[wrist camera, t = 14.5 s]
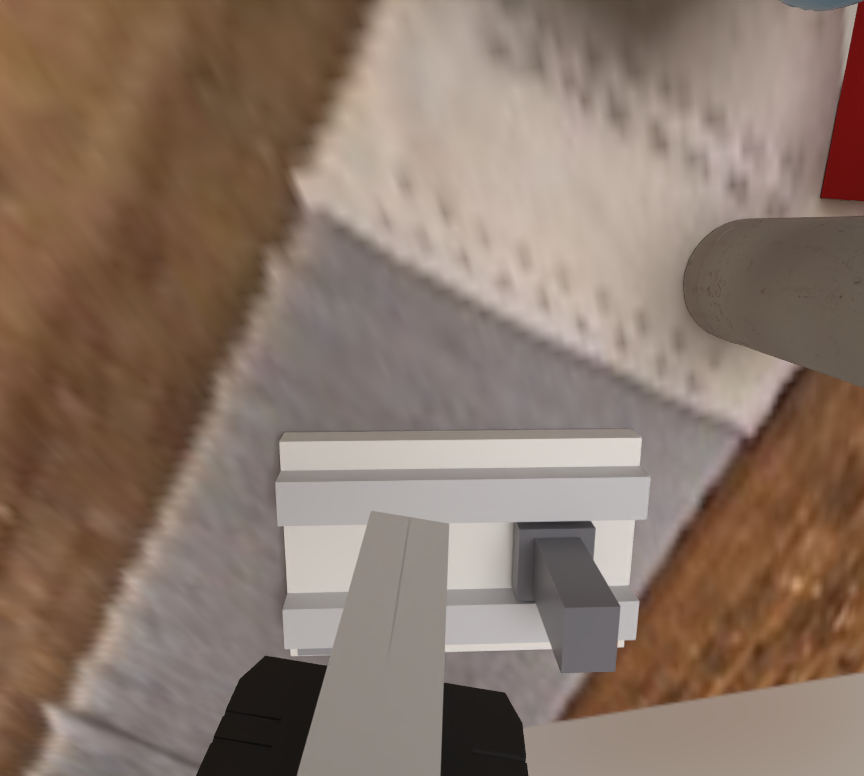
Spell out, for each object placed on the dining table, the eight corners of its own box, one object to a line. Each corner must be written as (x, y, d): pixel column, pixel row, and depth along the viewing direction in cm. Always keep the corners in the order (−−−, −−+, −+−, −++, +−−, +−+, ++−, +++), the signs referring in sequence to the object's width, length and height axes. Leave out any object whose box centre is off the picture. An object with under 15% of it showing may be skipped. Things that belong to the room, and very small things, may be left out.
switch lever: (511, 585, 45) (542, 683, 36) (514, 516, 44) (546, 598, 34) (582, 583, 46) (632, 680, 36) (587, 515, 44) (639, 596, 35)
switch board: (295, 638, 48) (286, 674, 44) (284, 432, 44) (273, 452, 40) (614, 630, 49) (633, 664, 45) (631, 428, 45) (653, 447, 41)
